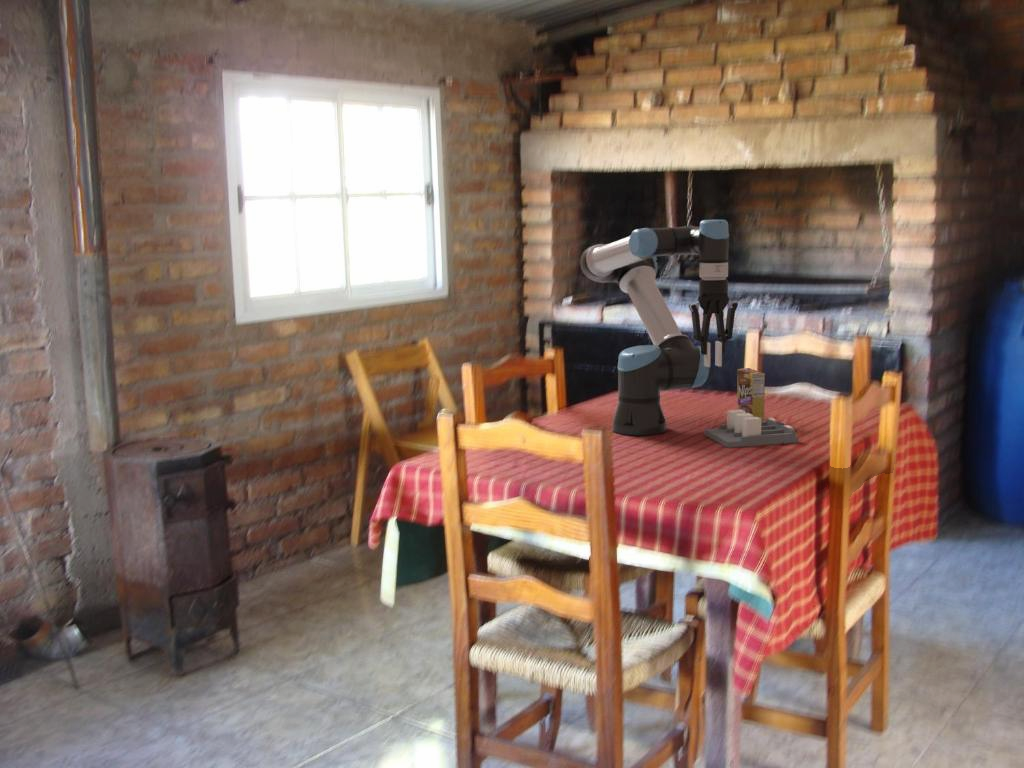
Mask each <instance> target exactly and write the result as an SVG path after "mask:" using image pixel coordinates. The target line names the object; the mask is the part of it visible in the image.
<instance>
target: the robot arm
mask: <svg viewBox="0 0 1024 768" xmlns="http://www.w3.org/2000/svg"><path fill="white" fill-rule="evenodd" d="M729 240H730V233H729V223H728V221H727V220H726V219H703V220H701V221H700V222H699V226H695V225H685V226H677V227H674V226H673V227H651V228H650V227H644V228H636V229H634V230H632V231H631V234H629V236H626V237H623V238H621V239H618V240H615V241H613V242H610V243H599V244H597V243H596V244H594V245H592V246H589V247H587V249H585V250H584V251H583V252H582V254H581V257H580V261H579V262H580V269H581V271H582V273H583V275H585V276H586V278H588V279H589V280H591V281H592V282H596V283H599V284H600V283H603V284H604V283H606V284H607V283H616V284H617V285H618V287H619V289H620V291H621V292H622V293H625V294H628V295H629V298H630V299H631V302H632V304H633V306H634V308H635V310H636V312H637V314H638V316H639V318H640V320H641V322H642V324H643V326H644V328H645V331H646V332H647V334H648V336H649V337H650V340H651V343H652V344H646V345H645V344H644V345H643V344H642V345H636V346H632V347H627V348H625V349H623V350H622V351H621V352H620V353H619V355H618V358H617V359H618V362H617V370H618V371H617V379H618V381H617V382H618V383H617V385H618V386H617V387H618V388H617V389H618V391H617V392H618V402H617V406H616V410H615V411H614V412H615V413H614V416H613V419H612V423H611V424H612V425H611V426H612V429H611V430H612V431H613V432H615V433H617V434H622V435H629V436H652V435H657V434H662V433H665V432H666V431H667V420H666V417H665V414H664V410H663V408H662V404H661V392H664V391H665V392H666V391H676V390H689V389H690V390H691V389H693V388H698V387H702V386H703V385H704V384H705V382H706V381H707V379H708V377H709V374H710V373H709V372H710V368H711V342H709V334H710V329H711V328H710V327H711V320H712V317H713V315H714V316H715V323H716V332H717V333H716V334H717V340H716V341H714V342H715V344H714V346H715V347H714V349H715V351H714V352H715V353H714V359H715V361H714V365H715V366H716V367H719V368H720V367H723V354H725V353H726V343H727V341H728V340H732V338H733V332H734V323H735V318H736V317H735V316H736V315H735V313H736V311H737V309H738V307H739V303H737V302H734V301H732V300H730V298H729V295H728V292H729V280H728V279H727V278H728V277H729V245H730V241H729ZM682 255H683V256H687V255H688V256H689V255H699V256H698V257H699V267H698V269H699V273H698V274H699V275H698V276H699V278H701V279H699V283H698V284H699V285H698V287H699V288H698V293H699V295H698V299H697V301H695V302H694V303H689V304H688V309H689V311H690V313H691V321H692V322H691V323H692V332H693V340H696V341H699V342H700V345H696V346H695V345H694V343H693V341H692V339H691V338H690V336H688V335H686V334H683V333H682V332H681V329H680V328H679V326H678V324H677V323H676V320H675V319H674V317H673V314H672V312H671V311H670V309H669V307H668V305H667V303H666V301H665V299H664V296H663V295H662V293H661V291H660V289H659V286H658V285H657V284H656V281H655V279H656V277H657V272H658V264H659V263H658V262H657V260H658V258H657V257H664V256H682ZM726 307H727V312H726V318H725V319H726V320H724V316H725V314H724V310H725V309H726ZM700 308H701V310H702V323H701V321H700V319H701V317H700V312H699V310H700Z"/></svg>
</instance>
